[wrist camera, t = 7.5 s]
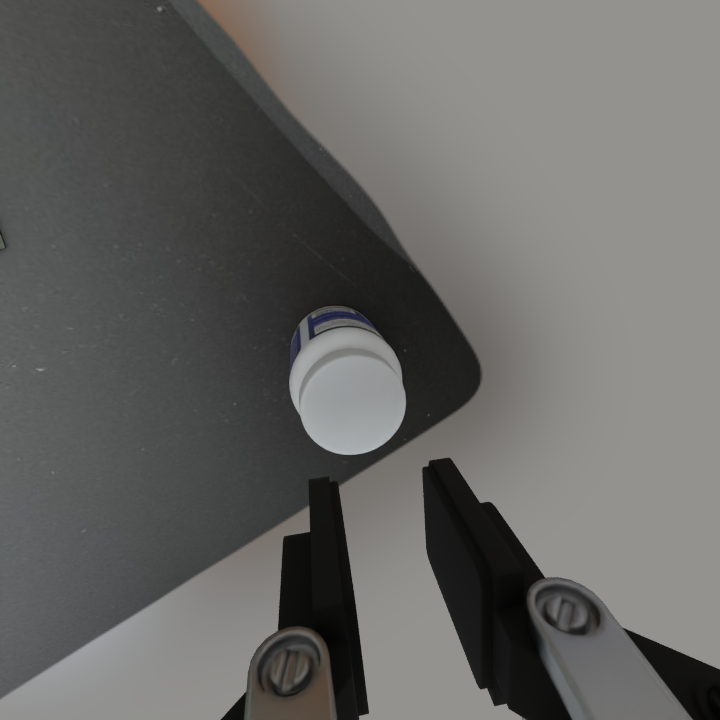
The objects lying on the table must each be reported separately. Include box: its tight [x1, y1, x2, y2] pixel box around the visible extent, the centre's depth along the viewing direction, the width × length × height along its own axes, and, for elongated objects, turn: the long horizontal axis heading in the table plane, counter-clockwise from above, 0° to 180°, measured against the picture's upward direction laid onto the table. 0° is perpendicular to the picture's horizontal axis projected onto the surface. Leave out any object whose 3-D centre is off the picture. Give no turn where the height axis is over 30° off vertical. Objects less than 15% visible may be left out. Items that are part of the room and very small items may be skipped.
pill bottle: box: [289, 306, 406, 455], centre depth 23 cm, size 6×6×10 cm
